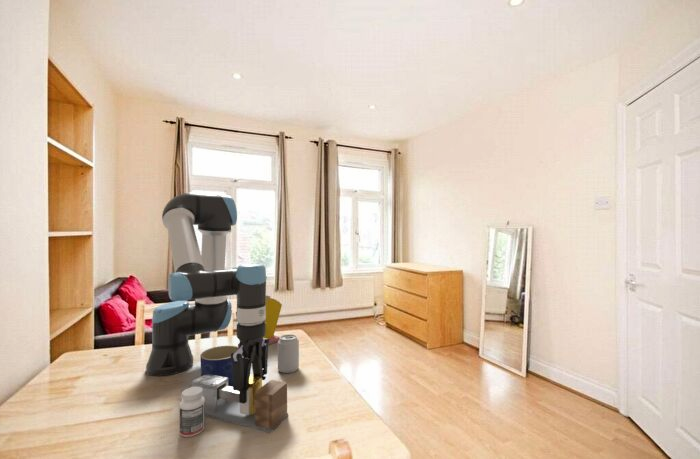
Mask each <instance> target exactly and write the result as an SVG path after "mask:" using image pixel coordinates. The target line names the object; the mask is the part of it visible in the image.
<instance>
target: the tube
mask: <svg viewBox="0 0 700 459" xmlns="http://www.w3.org/2000/svg"><path fill="white" fill-rule="evenodd" d="M262 386H263V380H262V377H257V376H253V374H252V375H251V374H250V379H249V387H248V388H249V389H251V398H250V414H252V415H253V414H254V413H255V396H256V391H257V390H259V389H260V388H261V387H262ZM217 398H220V399H225V400H229V401H234V402H238V403H240V402H239V391H236V390H233V387H230V386H225V385H222V386H220V387H218V388H217Z"/></svg>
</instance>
